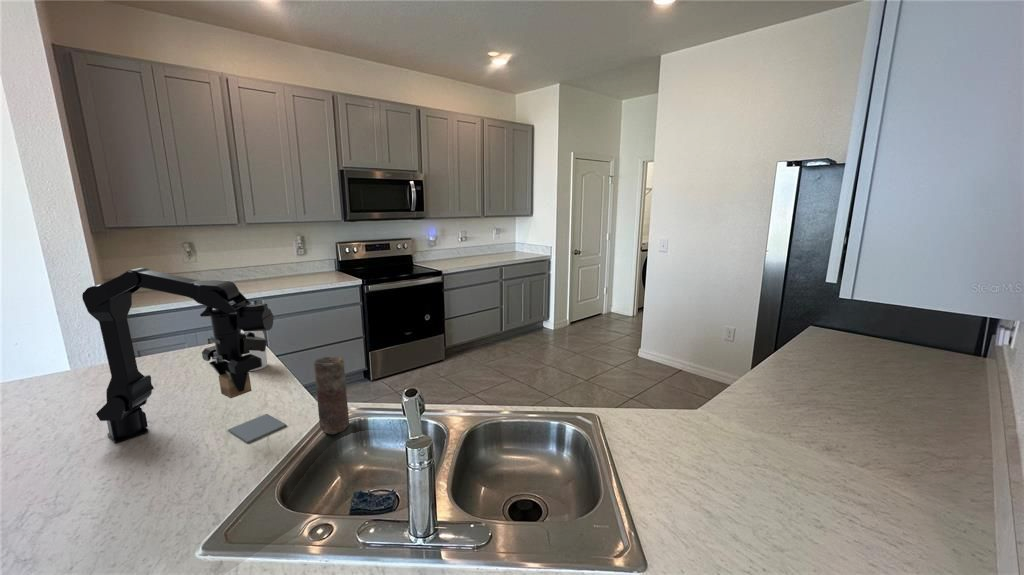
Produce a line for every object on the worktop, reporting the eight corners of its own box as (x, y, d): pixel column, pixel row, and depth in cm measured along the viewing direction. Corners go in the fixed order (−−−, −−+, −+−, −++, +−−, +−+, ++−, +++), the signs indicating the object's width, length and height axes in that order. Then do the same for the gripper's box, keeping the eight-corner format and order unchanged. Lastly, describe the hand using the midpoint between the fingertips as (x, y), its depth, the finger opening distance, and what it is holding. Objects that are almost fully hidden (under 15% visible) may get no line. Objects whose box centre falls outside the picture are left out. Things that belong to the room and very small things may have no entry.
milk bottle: (272, 363, 152) (267, 311, 147) (257, 372, 144) (251, 317, 140) (252, 362, 152) (247, 310, 148) (237, 370, 145) (230, 316, 141)
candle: (313, 429, 110) (307, 360, 106) (336, 417, 116) (331, 351, 112) (332, 438, 107) (327, 366, 102) (355, 425, 113) (351, 356, 109)
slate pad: (247, 443, 103) (247, 441, 103) (228, 431, 108) (227, 429, 108) (286, 426, 111) (286, 424, 111) (267, 415, 117) (266, 413, 117)
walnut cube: (230, 398, 103) (227, 380, 102) (221, 393, 106) (218, 375, 105) (251, 390, 108) (249, 373, 107) (242, 386, 110) (239, 369, 109)
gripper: (279, 329, 105) (286, 385, 108) (243, 318, 115) (250, 370, 118) (231, 342, 96) (241, 402, 99) (196, 328, 106) (206, 384, 109)
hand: (236, 388), depth 107 cm, fingers closed on walnut cube, 5 cm apart
